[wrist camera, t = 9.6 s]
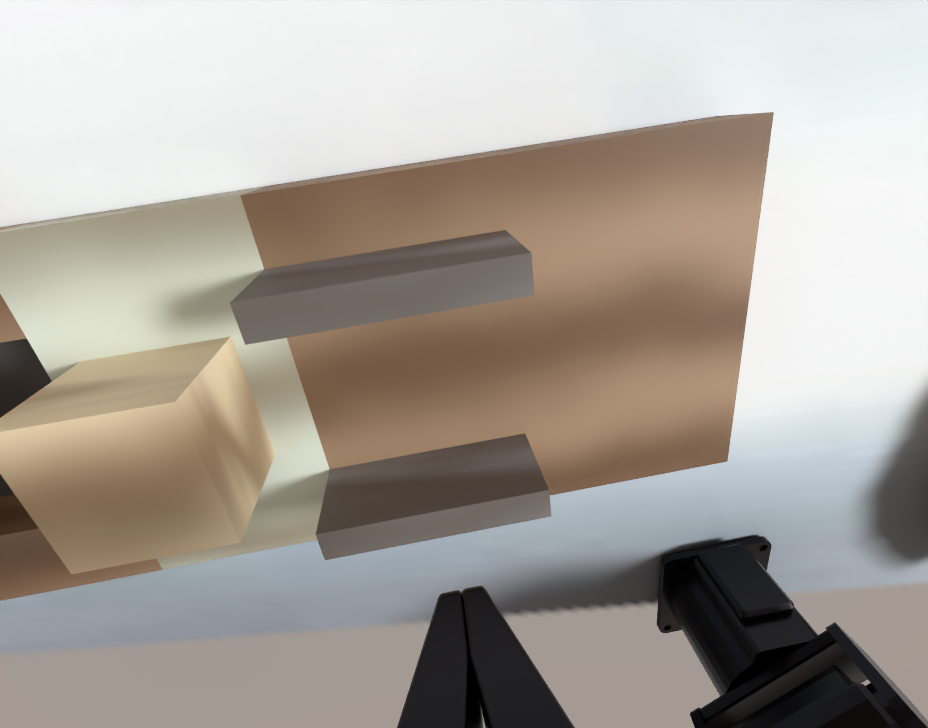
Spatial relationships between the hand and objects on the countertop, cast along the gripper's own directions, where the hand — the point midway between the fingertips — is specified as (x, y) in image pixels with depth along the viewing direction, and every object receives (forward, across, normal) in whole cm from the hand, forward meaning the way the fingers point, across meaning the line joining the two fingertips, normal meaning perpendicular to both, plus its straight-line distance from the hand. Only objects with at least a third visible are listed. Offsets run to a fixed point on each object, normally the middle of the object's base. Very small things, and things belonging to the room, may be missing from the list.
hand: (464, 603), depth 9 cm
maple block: (+10, +9, 0) cm, 13 cm away
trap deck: (+13, +5, 0) cm, 14 cm away
